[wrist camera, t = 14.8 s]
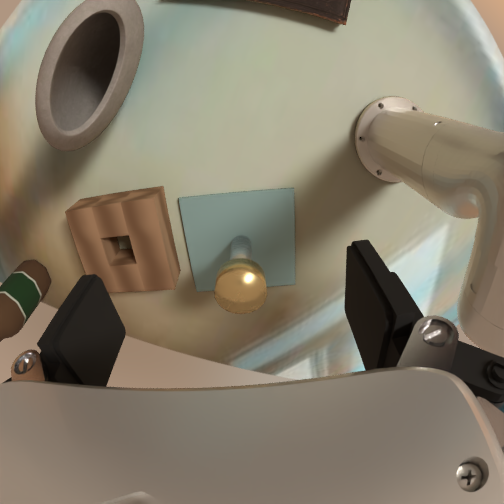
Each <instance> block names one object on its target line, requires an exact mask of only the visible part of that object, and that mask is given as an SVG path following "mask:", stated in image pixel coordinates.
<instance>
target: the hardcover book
mask: <svg viewBox="0 0 504 504" xmlns="http://www.w3.org/2000/svg"><path fill="white" fill-rule="evenodd" d="M248 1H253V2H259V3H264V4H269V5H274V6H278V7H283V8H287V9H291V10H295V11H299V12H303V13H306V14H310V15H313V16H317V17H320V18H323V19H327V20H330V21H333V22H336V23H339V24H343V25H346V21H347V17H348V12H349V8H350V3H351V0H248Z"/></svg>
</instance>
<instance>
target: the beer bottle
mask: <svg viewBox="0 0 504 504" xmlns="http://www.w3.org/2000/svg"><path fill="white" fill-rule="evenodd" d="M50 283H51V279H50V276H49V274H48V272H47V269H46V268H45V267H44V266H43V265H41V264H40V263H39V262H38V261H36V260H28V261H24V262H23V263H22V264H20V265H19V266H18V267H17V269H16V270H15V271H14V272H13V273H12V274H11V275H10V276H9V277H8V278H7V279H6V281H5V282H4V283H3V284H2V285H1V286H0V341H2V340H3V339H4V338H9V337H12V336H14V335H15V334H17V333H18V332H19V331H20V330H21V328H22V327H23V326H24V324H25V323H26V321H27V320H28V318H29V317H30V315H31V314H32V312H33V311H34V310H35V308H36V307H37V306H38V304H39V303H40V301H41V300H42V299H43V297H44V296H45V294H46V293H47V291H48V289H49V286H50Z"/></svg>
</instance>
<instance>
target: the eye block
mask: <svg viewBox="0 0 504 504" xmlns="http://www.w3.org/2000/svg"><path fill="white" fill-rule="evenodd" d="M65 213H66V217H67V220H68V223H69V226H70V230H71V233H72V236H73V239H74V242H75V245H76V248H77V251H78V254H79V256H80V259H81V262H82V265H83V267H84V270H85V273H86V275H90V274H96V275H97V276H98V277H100V278H101V279H102V280H103V283H104V285H105V287H106V289H107V292H132V291H153V290H172V289H175V287H176V284H177V281H178V277H179V274H180V271H181V270H180V266H179V262H178V257H177V253H176V248H175V243H174V239H173V234H172V229H171V224H170V219H169V214H168V209H167V204H166V198H165V193H164V187H163V186H161V187H153V188H146V189H139V190H132V191H126V192H120V193H113V194H107V195H101V196H96V197H90V198H84V199H80V200H79V201H78V202H76V203H75V204H74V205H73V206H72V207H70V208H69V209H68V210H67V211H66V212H65ZM125 235H129V238H130V241H131V245H132V248H131V249H120V247H119V244H118V240H117V237H116V236H125Z"/></svg>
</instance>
